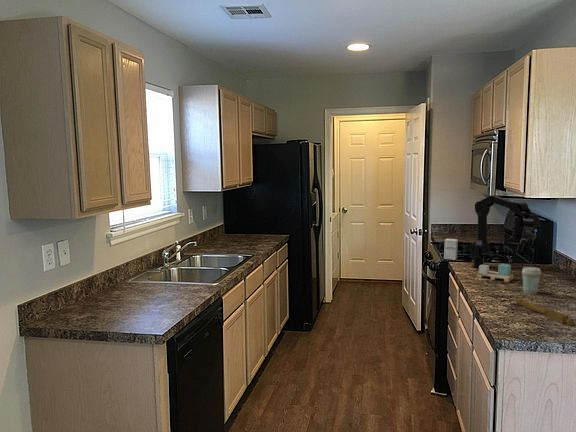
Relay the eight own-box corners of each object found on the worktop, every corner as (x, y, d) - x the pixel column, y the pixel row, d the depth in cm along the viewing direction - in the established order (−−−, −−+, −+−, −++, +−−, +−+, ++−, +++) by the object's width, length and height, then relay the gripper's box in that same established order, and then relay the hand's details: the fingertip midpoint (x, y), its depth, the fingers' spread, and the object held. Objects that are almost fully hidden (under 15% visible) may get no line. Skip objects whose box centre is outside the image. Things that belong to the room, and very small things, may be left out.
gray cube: (481, 271, 264) (481, 264, 263) (488, 272, 261) (489, 265, 261) (478, 272, 261) (479, 265, 260) (486, 274, 258) (486, 266, 258)
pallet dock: (482, 274, 268) (483, 269, 268) (513, 278, 258) (513, 274, 257) (477, 277, 261) (477, 272, 261) (508, 282, 251) (508, 277, 251)
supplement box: (443, 259, 307) (444, 239, 305) (445, 256, 313) (446, 238, 312) (455, 260, 303) (456, 240, 302) (457, 258, 310) (458, 238, 308)
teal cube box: (500, 272, 261) (501, 263, 261) (510, 273, 258) (511, 264, 258) (498, 274, 258) (498, 265, 257) (507, 275, 254) (508, 266, 254)
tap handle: (521, 297, 215) (576, 319, 186) (520, 304, 216) (576, 326, 187) (515, 298, 215) (570, 320, 186) (515, 304, 215) (569, 327, 186)
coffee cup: (528, 295, 227) (529, 271, 226) (516, 290, 236) (518, 267, 234) (544, 294, 228) (545, 270, 227) (532, 289, 237) (533, 266, 235)
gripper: (530, 229, 246) (529, 258, 248) (540, 224, 260) (538, 252, 262) (508, 226, 253) (506, 255, 255) (518, 223, 267) (516, 250, 269)
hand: (517, 253), depth 260 cm, fingers open, 9 cm apart
